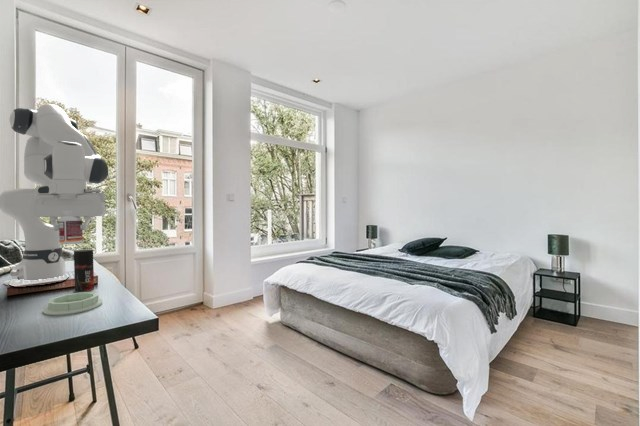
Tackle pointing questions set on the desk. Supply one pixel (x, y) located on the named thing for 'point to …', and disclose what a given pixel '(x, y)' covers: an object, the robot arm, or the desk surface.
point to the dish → (72, 303)
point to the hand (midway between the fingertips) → (71, 230)
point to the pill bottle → (70, 228)
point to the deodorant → (83, 270)
